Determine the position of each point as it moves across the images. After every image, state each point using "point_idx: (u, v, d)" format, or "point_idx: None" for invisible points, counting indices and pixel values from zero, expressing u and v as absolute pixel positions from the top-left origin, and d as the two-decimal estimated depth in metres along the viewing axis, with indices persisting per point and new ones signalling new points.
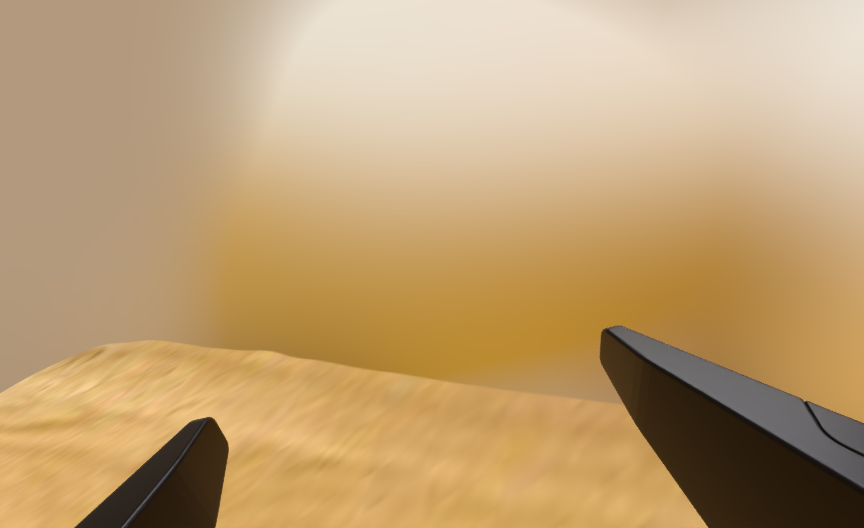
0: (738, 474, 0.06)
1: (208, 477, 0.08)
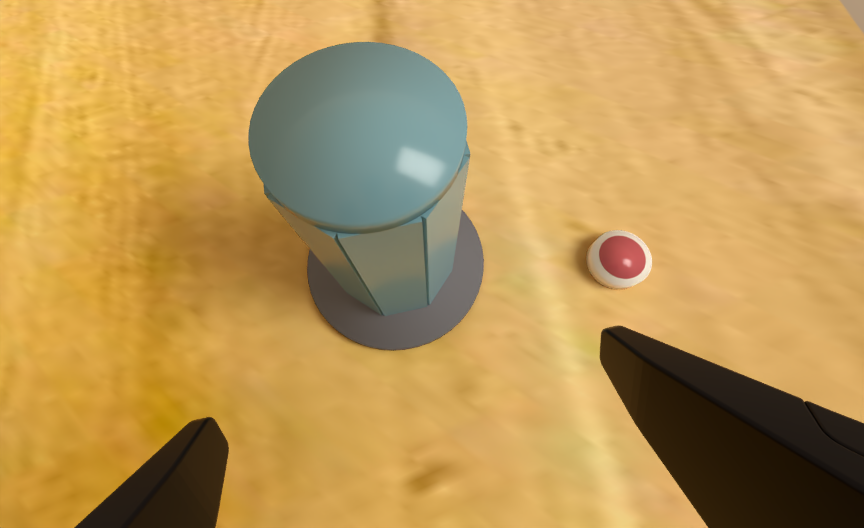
0: (738, 474, 0.06)
1: (208, 477, 0.08)
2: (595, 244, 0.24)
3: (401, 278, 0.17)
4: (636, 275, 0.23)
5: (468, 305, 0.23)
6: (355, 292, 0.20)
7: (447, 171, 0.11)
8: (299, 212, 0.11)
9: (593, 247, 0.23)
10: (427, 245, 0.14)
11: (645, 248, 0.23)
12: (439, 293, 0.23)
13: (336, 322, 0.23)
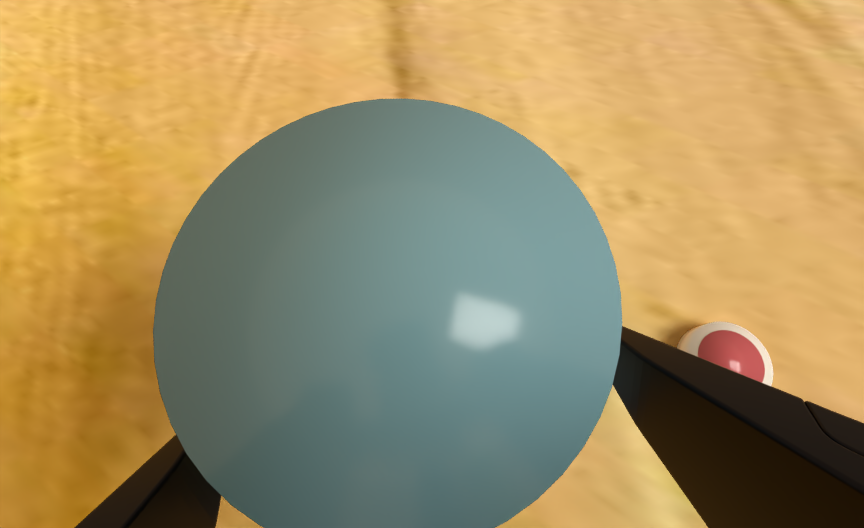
0: (738, 473, 0.06)
1: None
2: (691, 343, 0.17)
3: None
4: None
5: None
6: None
7: (591, 409, 0.05)
8: (255, 517, 0.05)
9: (689, 348, 0.17)
10: None
11: (761, 348, 0.17)
12: None
13: None
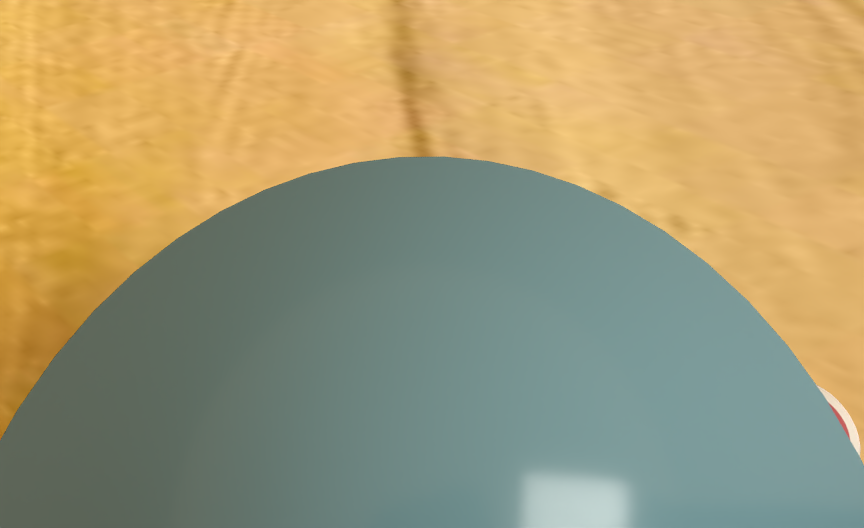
0: None
1: None
2: None
3: None
4: None
5: None
6: None
7: None
8: None
9: None
10: None
11: (839, 407, 0.14)
12: None
13: None
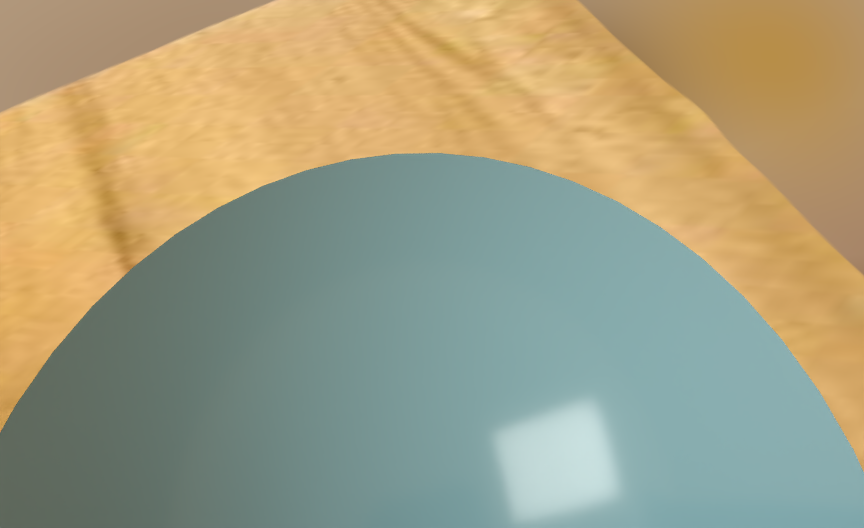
0: None
1: None
2: None
3: None
4: None
5: None
6: None
7: None
8: None
9: None
10: None
11: None
12: None
13: None
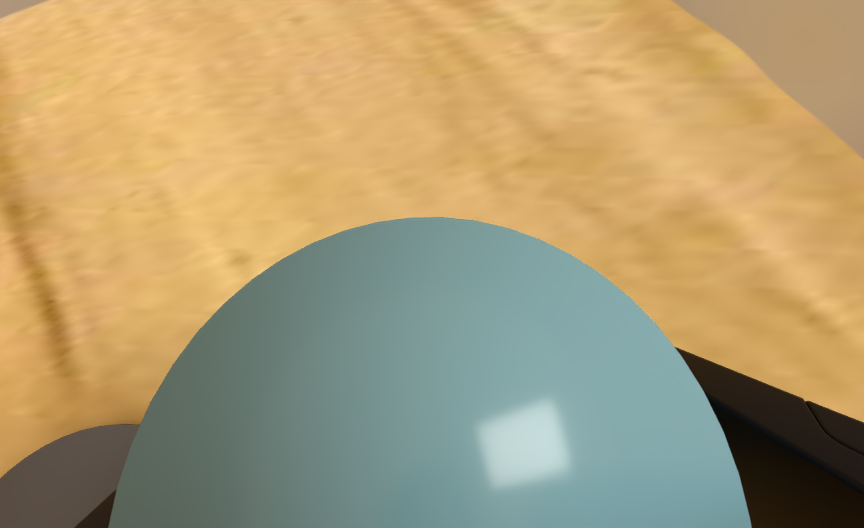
0: (739, 473, 0.06)
1: None
2: None
3: None
4: None
5: None
6: None
7: None
8: None
9: None
10: None
11: None
12: None
13: None
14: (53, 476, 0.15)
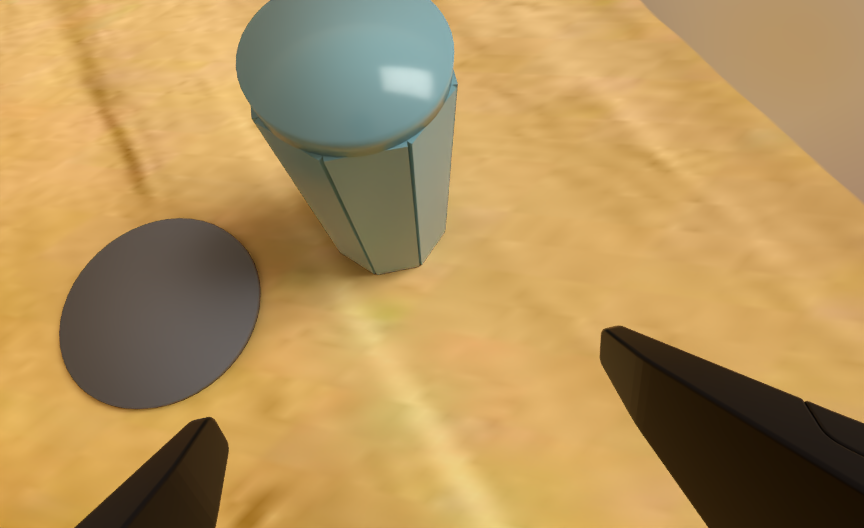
0: (738, 473, 0.06)
1: (208, 477, 0.08)
2: None
3: (391, 223, 0.17)
4: None
5: (250, 322, 0.21)
6: (347, 246, 0.20)
7: (433, 94, 0.11)
8: (284, 131, 0.11)
9: None
10: (415, 181, 0.14)
11: None
12: (216, 321, 0.21)
13: (109, 397, 0.20)
14: (138, 246, 0.23)
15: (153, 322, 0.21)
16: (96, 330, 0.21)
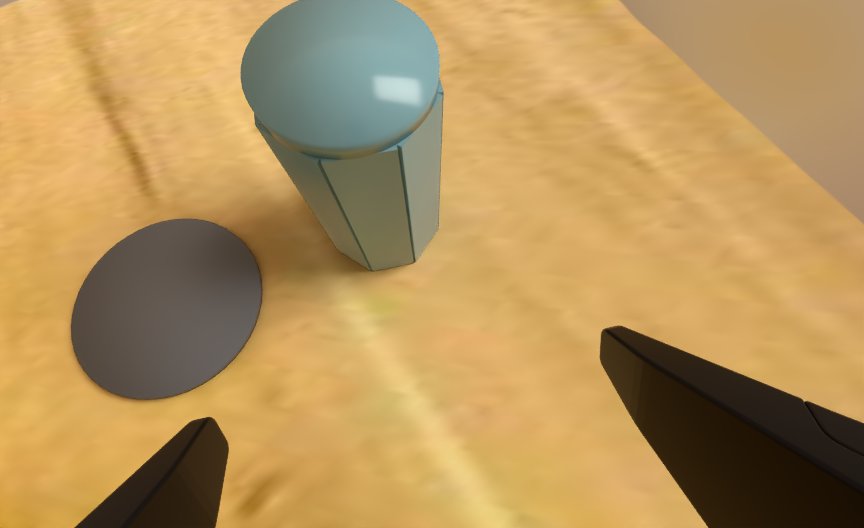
0: (737, 474, 0.06)
1: (208, 477, 0.08)
2: None
3: (384, 221, 0.18)
4: None
5: (252, 316, 0.23)
6: (344, 244, 0.22)
7: (420, 102, 0.12)
8: (285, 136, 0.12)
9: None
10: (406, 181, 0.15)
11: None
12: (220, 316, 0.23)
13: (119, 388, 0.21)
14: (146, 245, 0.24)
15: (160, 317, 0.23)
16: (106, 325, 0.22)
